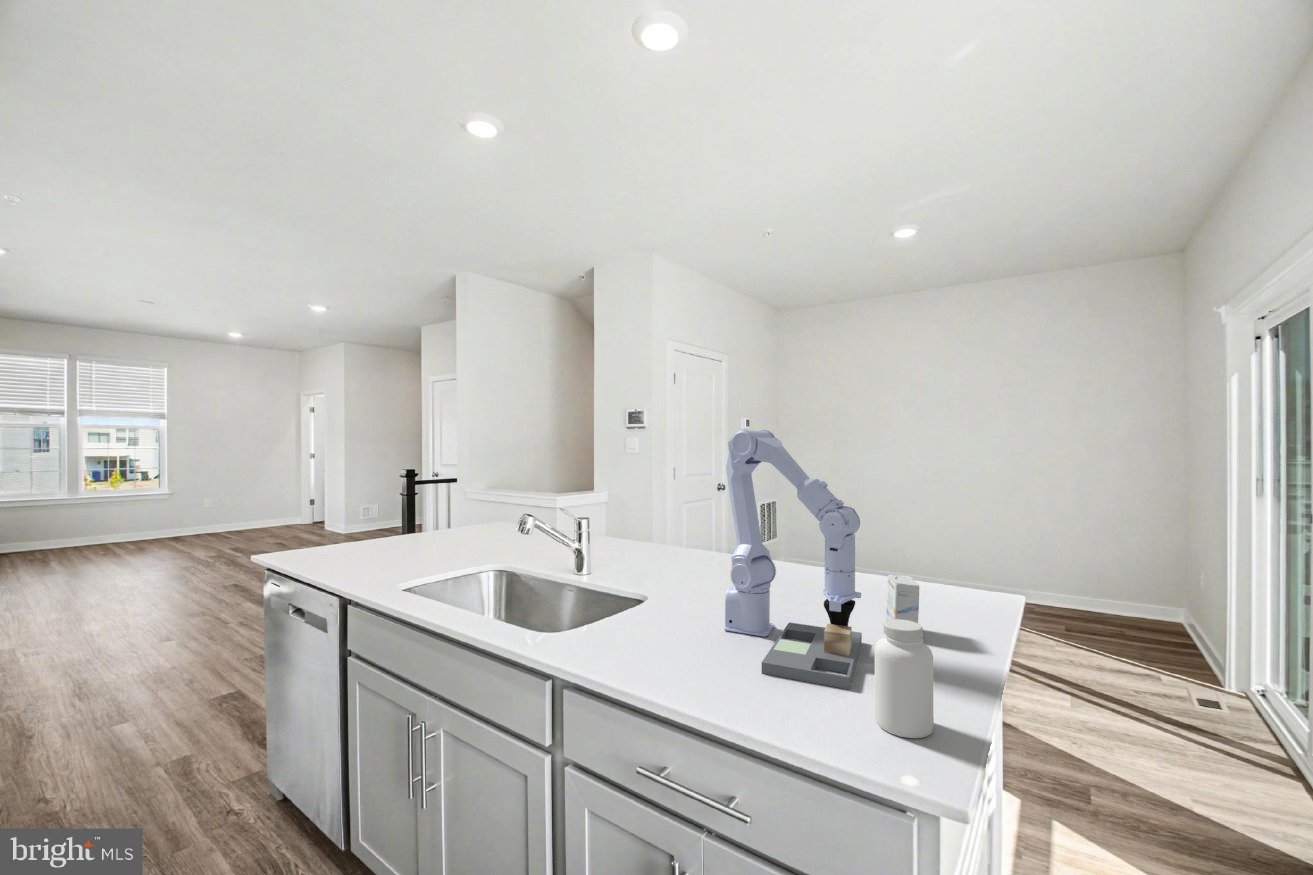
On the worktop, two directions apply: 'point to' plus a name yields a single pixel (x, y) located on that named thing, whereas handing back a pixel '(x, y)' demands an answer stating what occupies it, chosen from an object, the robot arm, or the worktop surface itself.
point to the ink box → (902, 598)
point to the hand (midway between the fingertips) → (839, 638)
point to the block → (837, 639)
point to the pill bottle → (904, 680)
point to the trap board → (810, 657)
